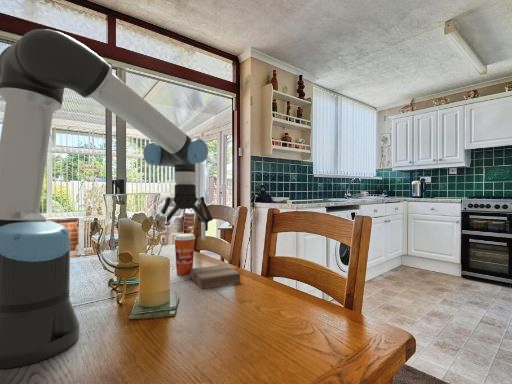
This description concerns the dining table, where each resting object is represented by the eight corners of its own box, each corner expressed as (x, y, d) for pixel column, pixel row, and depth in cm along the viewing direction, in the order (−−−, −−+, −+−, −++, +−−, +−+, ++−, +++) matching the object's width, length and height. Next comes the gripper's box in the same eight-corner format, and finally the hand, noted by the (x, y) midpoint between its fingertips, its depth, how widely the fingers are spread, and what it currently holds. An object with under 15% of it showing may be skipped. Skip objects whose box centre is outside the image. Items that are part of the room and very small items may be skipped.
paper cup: (173, 276, 100) (173, 236, 100) (173, 270, 107) (174, 233, 107) (196, 275, 102) (196, 236, 102) (195, 269, 109) (195, 233, 109)
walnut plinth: (240, 282, 94) (240, 273, 94) (201, 288, 88) (201, 279, 88) (225, 272, 105) (225, 264, 105) (190, 277, 99) (190, 268, 99)
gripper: (214, 184, 114) (214, 237, 114) (148, 183, 102) (148, 242, 102) (220, 183, 107) (220, 240, 107) (150, 183, 96) (151, 246, 96)
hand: (185, 241), depth 105 cm, fingers open, 13 cm apart
